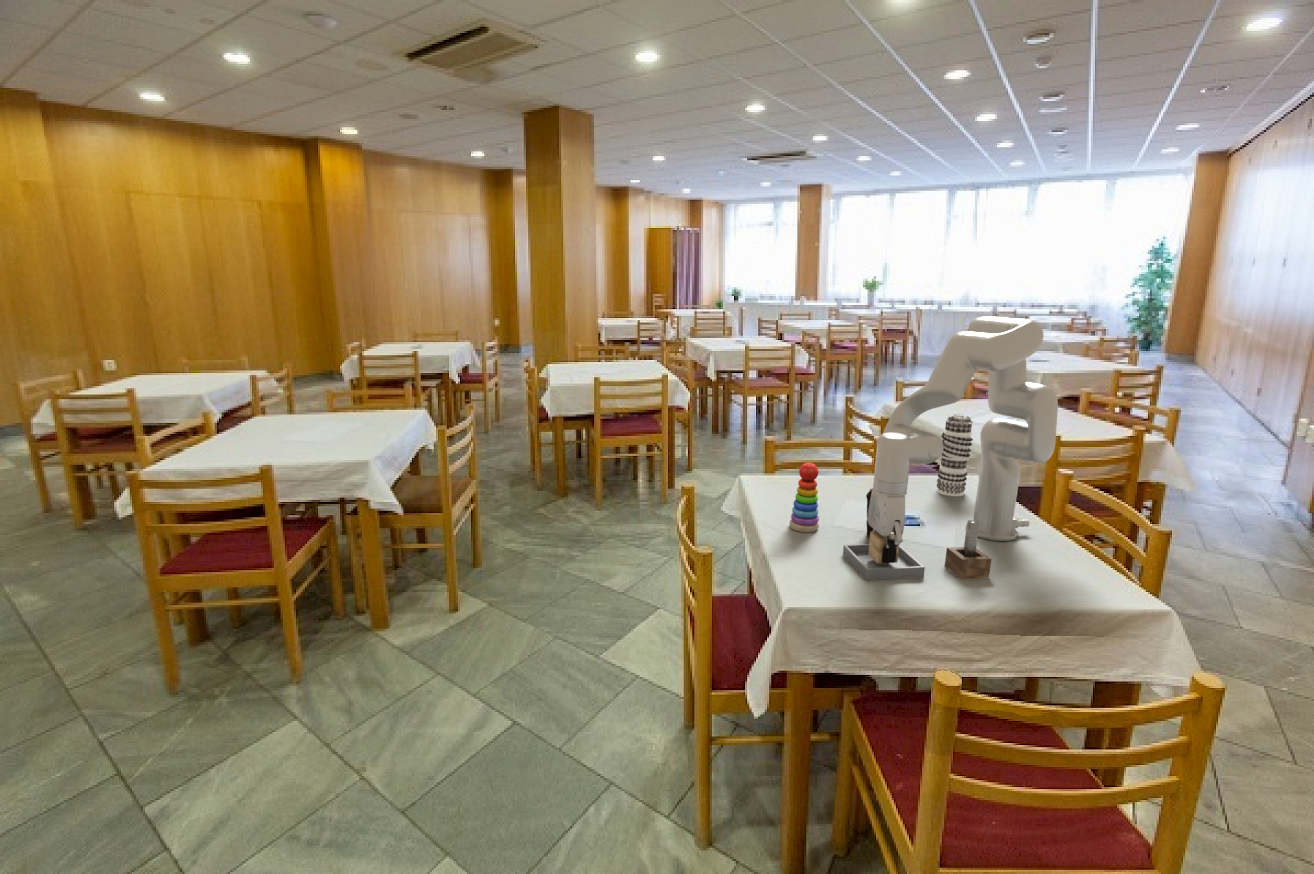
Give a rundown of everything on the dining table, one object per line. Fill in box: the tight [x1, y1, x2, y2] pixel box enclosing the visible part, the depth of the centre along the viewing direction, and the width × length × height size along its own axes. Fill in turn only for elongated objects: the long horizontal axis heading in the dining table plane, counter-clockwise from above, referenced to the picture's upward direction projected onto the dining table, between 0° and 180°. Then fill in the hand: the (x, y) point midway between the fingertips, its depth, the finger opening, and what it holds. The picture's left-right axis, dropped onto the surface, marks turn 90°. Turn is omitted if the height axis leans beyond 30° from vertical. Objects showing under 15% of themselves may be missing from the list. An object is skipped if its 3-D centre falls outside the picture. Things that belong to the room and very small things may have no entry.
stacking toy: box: [789, 462, 820, 533], centre depth 181 cm, size 8×8×19 cm
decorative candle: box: [935, 414, 974, 497], centre depth 211 cm, size 9×9×25 cm
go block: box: [944, 546, 992, 580], centre depth 157 cm, size 7×7×5 cm
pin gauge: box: [963, 519, 980, 557], centre depth 156 cm, size 3×3×12 cm
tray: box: [842, 543, 926, 581], centre depth 160 cm, size 14×14×3 cm
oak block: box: [868, 531, 900, 564], centre depth 159 cm, size 5×5×6 cm
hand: (883, 556), depth 160 cm, fingers closed on oak block, 5 cm apart
